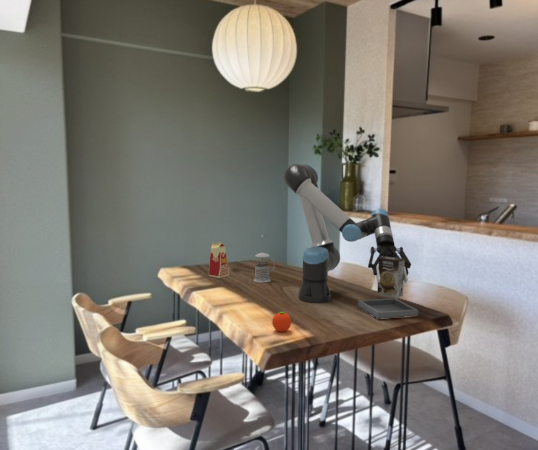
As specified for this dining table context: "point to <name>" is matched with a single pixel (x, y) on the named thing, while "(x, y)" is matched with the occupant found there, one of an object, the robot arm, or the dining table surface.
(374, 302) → the tray
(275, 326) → the clementine
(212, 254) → the milk carton
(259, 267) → the french press
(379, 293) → the coffee box
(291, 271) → the dining table surface
